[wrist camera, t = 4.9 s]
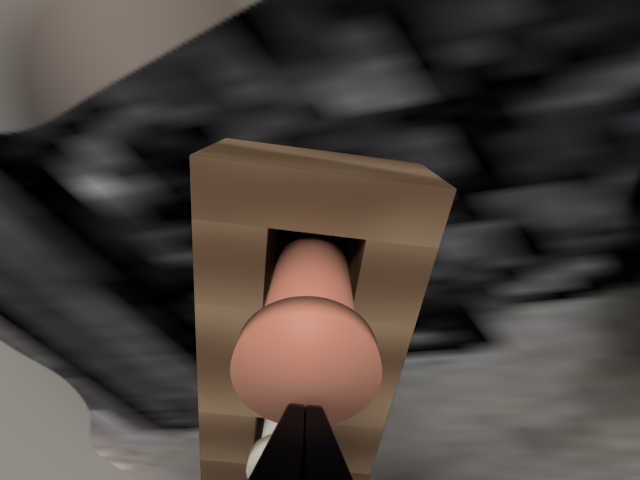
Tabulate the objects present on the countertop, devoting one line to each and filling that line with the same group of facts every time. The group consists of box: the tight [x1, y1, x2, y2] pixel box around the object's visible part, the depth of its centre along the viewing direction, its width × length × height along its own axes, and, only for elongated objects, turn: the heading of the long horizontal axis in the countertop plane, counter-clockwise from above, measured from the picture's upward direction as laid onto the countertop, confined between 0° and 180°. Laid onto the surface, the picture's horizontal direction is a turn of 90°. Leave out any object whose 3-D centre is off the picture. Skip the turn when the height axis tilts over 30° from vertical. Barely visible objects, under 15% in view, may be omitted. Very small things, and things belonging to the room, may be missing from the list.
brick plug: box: [230, 237, 382, 425], centre depth 12 cm, size 4×4×6 cm
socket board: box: [190, 138, 456, 480], centre depth 19 cm, size 20×10×5 cm, turn 173°
